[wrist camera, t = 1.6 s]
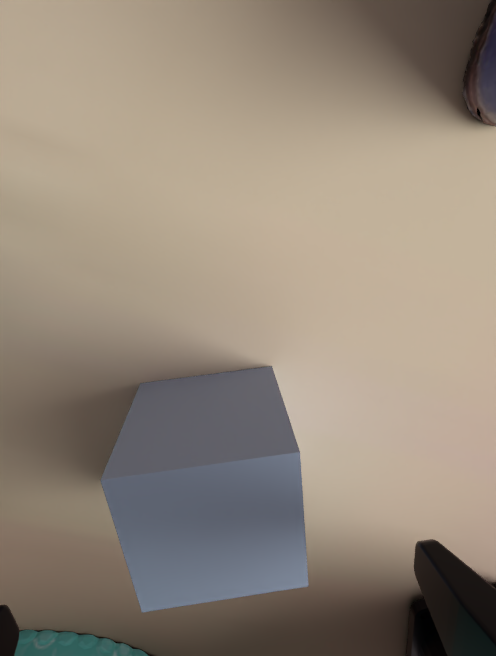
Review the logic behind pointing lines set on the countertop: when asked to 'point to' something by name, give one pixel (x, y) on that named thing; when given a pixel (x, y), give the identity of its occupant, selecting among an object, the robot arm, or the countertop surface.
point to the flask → (483, 70)
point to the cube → (208, 490)
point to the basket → (70, 645)
